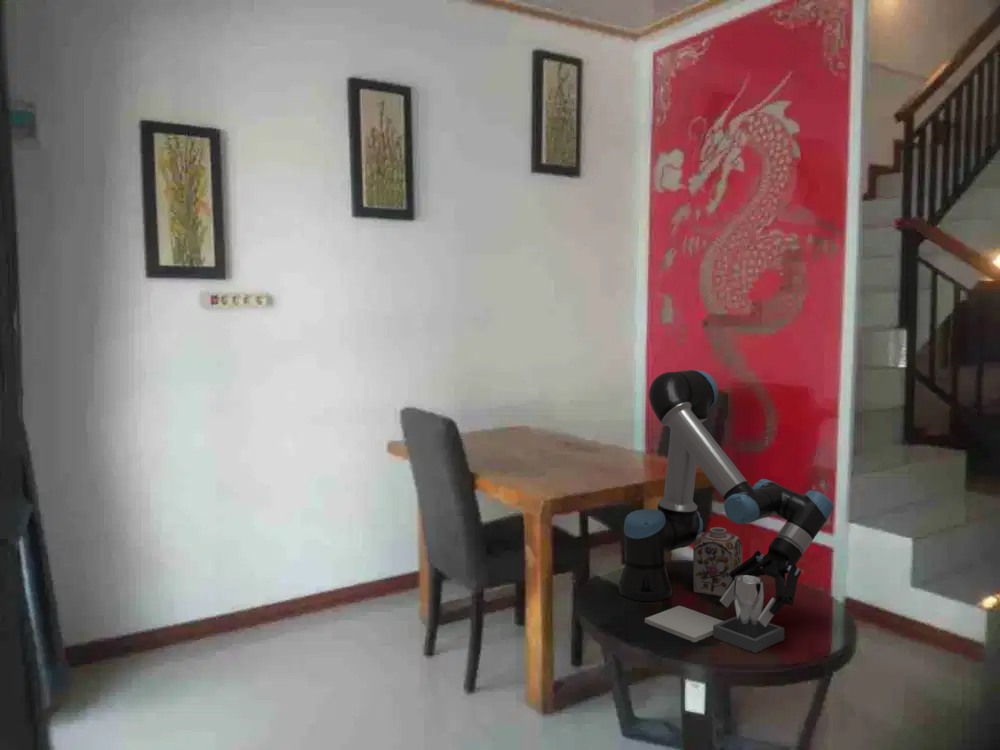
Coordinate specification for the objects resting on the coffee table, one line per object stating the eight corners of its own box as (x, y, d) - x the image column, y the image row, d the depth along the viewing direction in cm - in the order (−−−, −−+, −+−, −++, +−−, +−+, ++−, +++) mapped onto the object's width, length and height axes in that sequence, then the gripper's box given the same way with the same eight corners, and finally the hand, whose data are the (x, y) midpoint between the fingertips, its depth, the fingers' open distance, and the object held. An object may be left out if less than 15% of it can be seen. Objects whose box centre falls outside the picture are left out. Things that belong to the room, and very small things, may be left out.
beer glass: (765, 645, 180) (765, 584, 179) (735, 643, 181) (735, 583, 180) (760, 633, 187) (761, 575, 186) (732, 632, 188) (732, 574, 187)
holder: (713, 637, 185) (713, 625, 185) (742, 625, 192) (742, 613, 192) (755, 653, 176) (755, 641, 175) (784, 639, 183) (784, 627, 183)
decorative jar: (743, 586, 220) (743, 526, 219) (733, 599, 210) (733, 536, 209) (702, 580, 226) (702, 522, 225) (691, 592, 216) (691, 531, 215)
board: (644, 622, 195) (644, 618, 195) (679, 609, 203) (679, 605, 203) (694, 642, 182) (694, 637, 182) (729, 627, 191) (729, 623, 191)
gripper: (836, 568, 177) (787, 641, 172) (762, 541, 200) (717, 605, 195) (820, 549, 175) (769, 622, 170) (747, 524, 198) (700, 588, 193)
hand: (741, 613), depth 183 cm, fingers open, 13 cm apart
